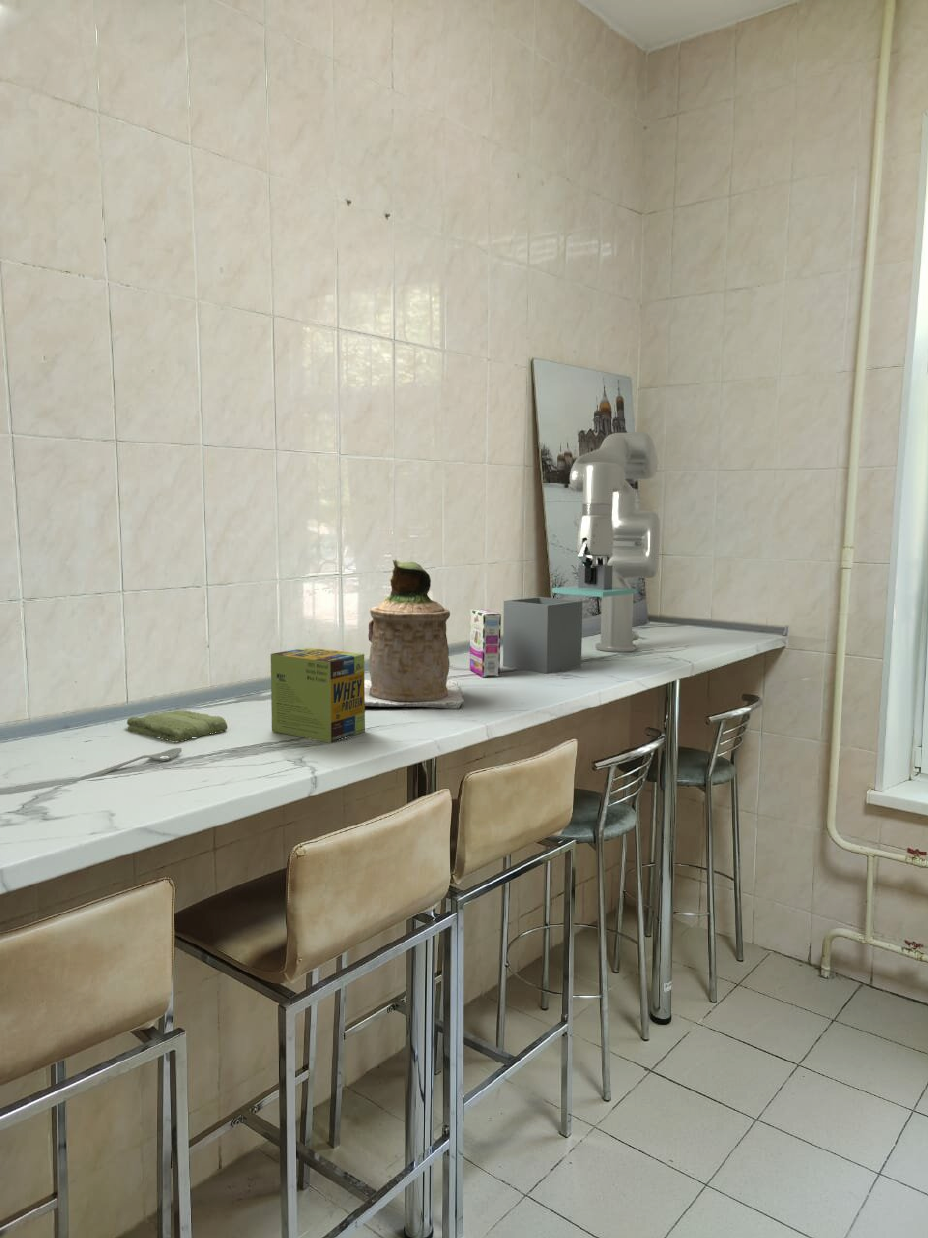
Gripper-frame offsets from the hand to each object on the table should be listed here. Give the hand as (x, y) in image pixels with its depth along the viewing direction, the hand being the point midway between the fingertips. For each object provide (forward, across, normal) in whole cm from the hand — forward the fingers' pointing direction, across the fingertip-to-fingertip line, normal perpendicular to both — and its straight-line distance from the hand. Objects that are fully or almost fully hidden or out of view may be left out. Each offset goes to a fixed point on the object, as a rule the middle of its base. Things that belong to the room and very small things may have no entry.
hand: (595, 582), depth 229 cm
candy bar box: (+25, +18, -21) cm, 37 cm away
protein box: (+26, +85, -4) cm, 89 cm away
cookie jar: (+25, +52, -14) cm, 60 cm away
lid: (+3, 0, 0) cm, 3 cm away
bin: (+24, -1, -17) cm, 30 cm away
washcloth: (+26, +104, -25) cm, 110 cm away
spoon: (+26, +122, -8) cm, 125 cm away
